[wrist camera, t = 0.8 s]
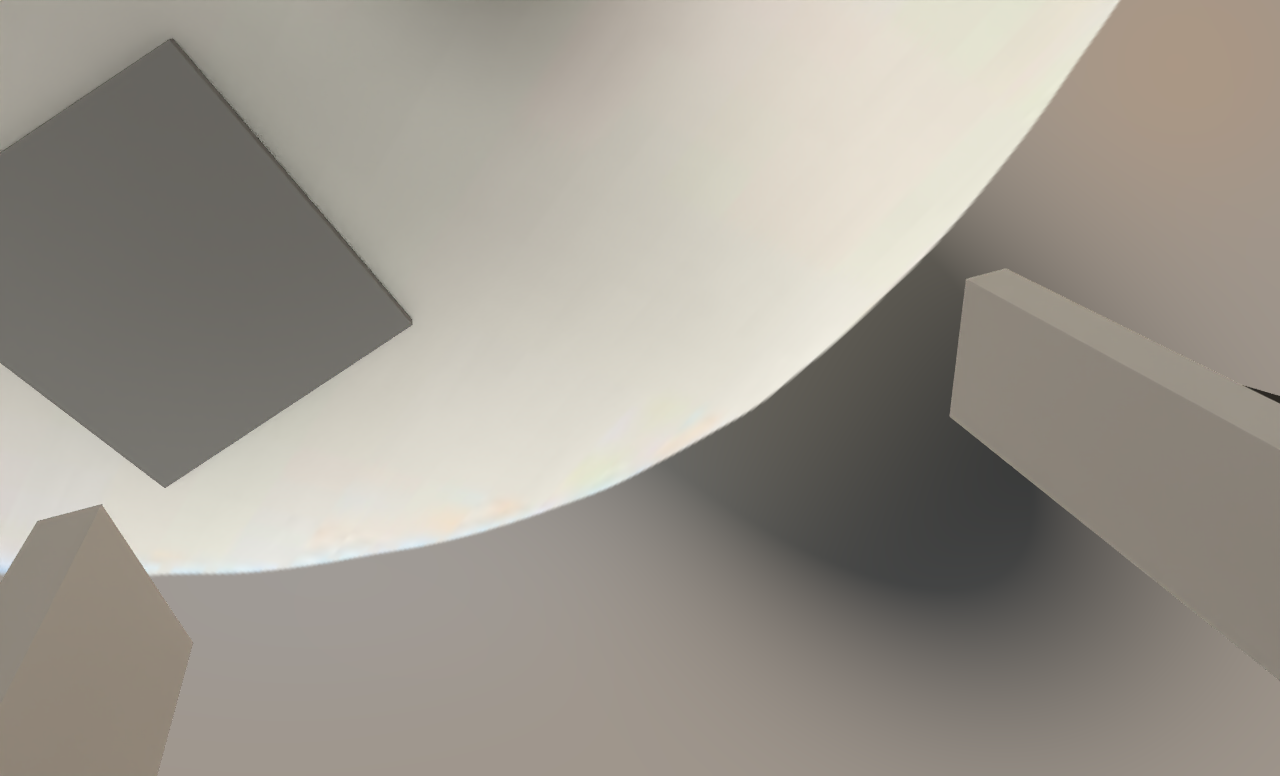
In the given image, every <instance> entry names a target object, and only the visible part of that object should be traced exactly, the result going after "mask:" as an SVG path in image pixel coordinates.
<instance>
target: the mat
mask: <svg viewBox="0 0 1280 776" xmlns="http://www.w3.org/2000/svg"><path fill="white" fill-rule="evenodd" d="M411 325H412V319H411V318H410V317H409V316H408V314H407V313H406V312H405V311H404V310H403V309H402V307H401V306H400V305H399V304H398V303H397V301H396V300H395V299H394V298H393V297H392V296H391V294H390V293H389V292H388V291H387V290H386V289H385V287H384V286H383V285H382V284H381V283H380V281H379V280H378V279H377V278H376V277H375V276H374V274H373V273H372V272H371V271H370V270H369V269H368V267H367V266H366V265H365V264H364V263H363V261H362V260H361V259H360V258H359V257H358V256H357V254H356V253H355V252H354V251H353V250H352V249H351V247H350V246H349V245H348V244H347V243H346V242H345V240H344V239H343V238H342V237H341V236H340V234H339V233H338V232H337V231H336V230H335V229H334V227H333V226H332V225H331V224H330V223H329V222H328V220H327V219H326V218H325V217H324V216H323V214H322V213H321V212H320V211H319V210H318V209H317V207H316V206H315V205H314V204H313V203H312V202H311V200H310V199H309V198H308V197H307V196H306V194H305V193H304V192H303V191H302V190H301V189H300V187H299V186H298V185H297V184H296V183H295V182H294V180H293V179H292V178H291V177H290V176H289V174H288V173H287V172H286V171H285V170H284V169H283V167H282V166H281V165H280V164H279V163H278V162H277V160H276V159H275V158H274V157H273V156H272V154H271V153H270V152H269V151H268V150H267V149H266V147H265V146H264V145H263V144H262V143H261V142H260V140H259V139H258V138H257V137H256V136H255V135H254V133H253V132H252V131H251V130H250V129H249V127H248V126H247V125H246V124H245V123H244V122H243V120H242V119H241V118H240V117H239V116H238V115H237V113H236V112H235V111H234V110H233V109H232V107H231V106H230V105H229V104H228V103H227V102H226V100H225V99H224V98H223V97H222V96H221V95H220V93H219V92H218V91H217V90H216V89H215V87H214V86H213V85H212V84H211V83H210V82H209V80H208V79H207V78H206V77H205V76H204V75H203V73H202V72H201V71H200V70H199V69H198V67H197V66H196V65H195V64H194V63H193V62H192V60H191V59H190V58H189V57H188V56H187V55H186V53H185V52H184V51H183V50H182V49H181V47H180V46H179V45H178V44H177V43H176V42H175V40H174V39H173V38H172V39H169V40H167V41H166V42H165V43H163V44H162V45H160V46H159V47H157V48H156V49H154V50H153V51H151V52H150V53H148V54H147V55H145V56H144V57H142V58H141V59H139V60H138V61H136V62H135V63H133V64H132V65H130V66H129V67H127V68H126V69H124V70H123V71H121V72H120V73H118V74H117V75H115V76H114V77H113V78H111V79H110V80H108V81H107V82H105V83H104V84H102V85H101V86H99V87H98V88H96V89H95V90H93V91H92V92H90V93H89V94H87V95H86V96H84V97H83V98H81V99H80V100H78V101H77V102H75V103H74V104H72V105H71V106H69V107H68V108H66V109H65V110H63V111H62V112H61V113H59V114H58V115H56V116H55V117H53V118H52V119H50V120H49V121H47V122H46V123H44V124H43V125H41V126H40V127H38V128H37V129H35V130H34V131H32V132H31V133H29V134H28V135H26V136H25V137H23V138H22V139H20V140H19V141H17V142H16V143H14V144H13V145H11V146H10V147H8V148H7V149H6V150H4V151H3V152H1V153H0V363H1V364H3V365H4V366H5V367H7V368H8V369H9V370H10V371H12V372H13V373H14V374H16V375H17V376H18V377H20V378H21V379H22V380H24V381H25V382H26V383H28V384H29V385H30V386H31V387H33V388H34V389H35V390H37V391H38V392H39V393H41V394H42V395H43V396H45V397H46V398H47V399H49V400H50V401H51V402H52V403H54V404H55V405H56V406H58V407H59V408H60V409H62V410H63V411H64V412H66V413H67V414H68V415H70V416H71V417H72V418H73V419H75V420H76V421H77V422H79V423H80V424H81V425H83V426H84V427H85V428H87V429H88V430H89V431H91V432H92V433H93V434H94V435H96V436H97V437H98V438H100V439H101V440H102V441H104V442H105V443H106V444H108V445H109V446H110V447H112V448H113V449H114V450H115V451H117V452H118V453H119V454H121V455H122V456H123V457H125V458H126V459H127V460H129V461H130V462H131V463H133V464H134V465H135V466H136V467H138V468H139V469H140V470H142V471H143V472H144V473H146V474H147V475H148V476H150V477H151V478H152V479H154V480H155V481H156V482H157V483H159V484H160V485H161V486H163V487H164V488H166V487H167V486H169V485H170V484H172V483H173V482H175V481H177V480H178V479H180V478H181V477H183V476H184V475H186V474H187V473H189V472H190V471H192V470H193V469H195V468H196V467H198V466H199V465H201V464H202V463H204V462H205V461H207V460H208V459H210V458H211V457H213V456H214V455H216V454H217V453H219V452H220V451H222V450H223V449H225V448H227V447H228V446H230V445H231V444H233V443H234V442H236V441H237V440H239V439H240V438H242V437H243V436H245V435H246V434H248V433H249V432H251V431H252V430H254V429H255V428H257V427H258V426H260V425H261V424H263V423H264V422H266V421H267V420H269V419H270V418H272V417H273V416H275V415H277V414H278V413H280V412H281V411H283V410H284V409H286V408H287V407H289V406H290V405H292V404H293V403H295V402H296V401H298V400H299V399H301V398H302V397H304V396H305V395H307V394H308V393H310V392H311V391H313V390H314V389H316V388H317V387H319V386H320V385H322V384H323V383H325V382H327V381H328V380H330V379H331V378H333V377H334V376H336V375H337V374H339V373H340V372H342V371H343V370H345V369H346V368H348V367H349V366H351V365H352V364H354V363H355V362H357V361H358V360H360V359H361V358H363V357H364V356H366V355H367V354H369V353H370V352H372V351H373V350H375V349H377V348H378V347H380V346H381V345H383V344H384V343H386V342H387V341H389V340H390V339H392V338H393V337H395V336H396V335H398V334H399V333H401V332H402V331H404V330H405V329H407V328H408V327H410V326H411Z"/></svg>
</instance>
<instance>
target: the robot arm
mask: <svg viewBox="0 0 1280 776" xmlns="http://www.w3.org/2000/svg"><path fill="white" fill-rule="evenodd" d="M950 417H951V418H952V419H954V420H955V421H956V422H957V423H959V424H960V425H961V426H962V427H964V428H965V429H966V430H967V431H969V432H970V433H971V434H972V435H974V436H975V437H976V438H977V439H979V440H980V441H981V442H982V443H984V444H985V445H986V446H987V447H989V448H990V449H991V450H992V451H994V452H995V453H996V454H997V455H999V456H1000V457H1001V458H1002V459H1003V460H1005V461H1006V462H1007V463H1008V464H1010V465H1011V466H1012V467H1014V468H1015V469H1016V470H1017V471H1018V472H1020V473H1021V474H1022V475H1023V476H1025V477H1026V478H1027V479H1029V480H1030V481H1031V482H1032V483H1034V484H1035V485H1036V486H1037V487H1038V488H1040V489H1041V490H1042V491H1044V492H1045V493H1046V494H1047V495H1048V496H1050V497H1051V498H1052V499H1053V500H1055V501H1056V502H1057V503H1058V504H1060V505H1061V506H1062V507H1063V508H1065V509H1066V510H1067V511H1068V512H1070V513H1071V514H1072V515H1073V516H1075V517H1076V518H1077V519H1078V520H1080V521H1081V522H1082V523H1083V524H1085V525H1086V526H1087V527H1088V528H1090V529H1091V530H1092V531H1093V532H1095V533H1096V534H1097V535H1098V536H1100V537H1101V538H1102V539H1103V540H1105V541H1106V542H1107V543H1108V544H1110V545H1111V546H1112V547H1113V548H1115V549H1116V550H1117V551H1118V552H1120V553H1121V554H1122V555H1123V556H1125V557H1126V558H1127V559H1128V560H1129V561H1131V562H1132V563H1133V564H1135V565H1136V566H1137V567H1138V568H1139V569H1141V570H1142V571H1143V572H1144V573H1146V574H1147V575H1148V576H1149V577H1151V578H1152V579H1153V580H1154V581H1156V582H1157V583H1158V584H1160V585H1161V586H1162V587H1163V588H1164V589H1166V590H1167V591H1168V592H1170V593H1171V594H1172V595H1173V596H1174V597H1176V598H1177V599H1178V600H1179V601H1181V602H1182V603H1183V604H1184V605H1186V606H1187V607H1188V608H1189V609H1191V610H1192V611H1193V612H1194V613H1196V614H1197V615H1198V616H1199V617H1201V618H1202V619H1203V620H1204V621H1206V622H1207V623H1208V624H1209V625H1211V626H1212V627H1213V628H1214V629H1216V630H1217V631H1218V632H1219V633H1221V634H1222V635H1223V636H1224V637H1226V638H1227V639H1228V640H1229V641H1231V642H1232V643H1233V644H1235V645H1236V646H1237V647H1238V648H1239V649H1241V650H1242V651H1243V652H1244V653H1246V654H1247V655H1248V656H1249V657H1251V658H1252V659H1253V660H1254V661H1256V662H1257V663H1258V664H1259V665H1261V666H1262V667H1263V668H1264V669H1265V670H1267V671H1268V672H1269V673H1270V674H1272V675H1273V676H1274V677H1276V678H1277V679H1278V680H1279V681H1280V396H1278V395H1274V394H1271V393H1267V392H1264V391H1261V390H1257V389H1253V388H1250V387H1247V386H1244V385H1241V384H1239V383H1237V382H1235V381H1233V380H1231V379H1229V378H1227V377H1225V376H1223V375H1221V374H1219V373H1217V372H1215V371H1213V370H1210V369H1209V368H1206V367H1204V366H1202V365H1200V364H1198V363H1196V362H1194V361H1192V360H1190V359H1188V358H1186V357H1184V356H1182V355H1180V354H1178V353H1176V352H1174V351H1172V350H1170V349H1168V348H1166V347H1164V346H1162V345H1160V344H1158V343H1156V342H1154V341H1152V340H1150V339H1148V338H1146V337H1144V336H1141V335H1140V334H1138V333H1136V332H1134V331H1131V330H1130V329H1128V328H1125V327H1123V326H1121V325H1119V324H1117V323H1115V322H1113V321H1111V320H1109V319H1107V318H1105V317H1103V316H1101V315H1099V314H1097V313H1095V312H1093V311H1091V310H1089V309H1087V308H1085V307H1083V306H1081V305H1079V304H1077V303H1075V302H1073V301H1071V300H1069V299H1067V298H1065V297H1063V296H1061V295H1059V294H1057V293H1054V292H1053V291H1051V290H1049V289H1047V288H1045V287H1043V286H1040V285H1038V284H1036V283H1034V282H1032V281H1030V280H1028V279H1026V278H1024V277H1022V276H1020V275H1018V274H1016V273H1014V272H1012V271H1010V270H1008V269H1003V270H999V271H994V272H991V273H987V274H983V275H979V276H975V277H971V278H968V279H966V285H965V294H964V302H963V310H962V318H961V327H960V335H959V344H958V352H957V359H956V369H955V376H954V384H953V393H952V401H951V410H950ZM192 645H193V642H192V640H191V639H190V637H189V636H188V634H187V633H186V631H185V630H184V628H183V627H182V625H181V624H180V622H179V621H178V619H177V618H176V616H175V615H174V613H173V612H172V610H171V609H170V607H169V606H168V604H167V603H166V601H165V599H164V598H163V597H162V595H161V594H160V592H159V590H158V589H157V587H156V586H155V584H154V583H153V581H152V580H151V578H150V577H149V575H148V574H147V572H146V571H145V569H144V568H143V566H142V565H141V563H140V562H139V560H138V559H137V557H136V556H135V554H134V553H133V551H132V550H131V548H130V547H129V545H128V544H127V542H126V540H125V539H124V537H123V536H122V534H121V533H120V531H119V530H118V528H117V527H116V525H115V524H114V522H113V521H112V519H111V518H110V516H109V515H108V513H107V512H106V510H105V509H104V507H103V506H102V504H101V505H97V506H93V507H89V508H86V509H82V510H78V511H74V512H70V513H66V514H63V515H59V516H55V517H51V518H47V519H43V520H40V521H37V523H36V524H35V526H34V528H33V529H32V531H31V533H30V534H29V536H28V538H27V539H26V541H25V543H24V544H23V546H22V548H21V549H20V551H19V553H18V554H17V556H16V558H15V559H14V561H13V562H12V564H11V566H10V567H9V569H8V571H7V572H6V574H5V576H4V577H3V579H2V581H1V582H0V776H157V774H158V771H159V767H160V763H161V760H162V756H163V752H164V748H165V745H166V741H167V737H168V733H169V730H170V726H171V723H172V719H173V715H174V712H175V708H176V704H177V700H178V697H179V693H180V689H181V686H182V682H183V678H184V674H185V670H186V667H187V663H188V660H189V656H190V652H191V649H192Z"/></svg>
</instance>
